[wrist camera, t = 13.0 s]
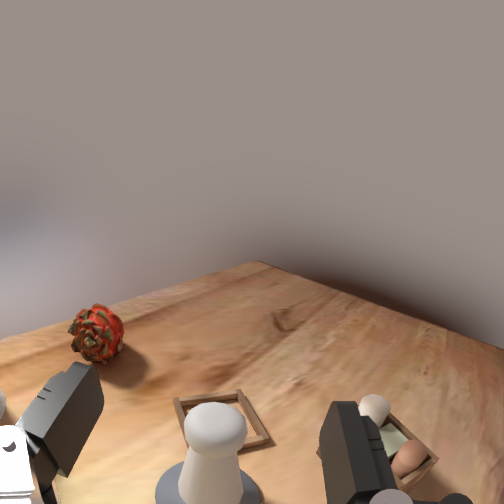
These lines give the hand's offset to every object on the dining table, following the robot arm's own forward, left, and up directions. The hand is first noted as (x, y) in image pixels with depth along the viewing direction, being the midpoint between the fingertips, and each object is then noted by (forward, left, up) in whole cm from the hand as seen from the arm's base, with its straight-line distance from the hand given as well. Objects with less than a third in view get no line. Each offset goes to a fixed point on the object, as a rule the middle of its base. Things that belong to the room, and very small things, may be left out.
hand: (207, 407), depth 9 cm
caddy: (-19, -3, -22) cm, 29 cm away
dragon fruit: (+7, -33, -22) cm, 40 cm away
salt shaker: (-3, -6, -21) cm, 22 cm away
